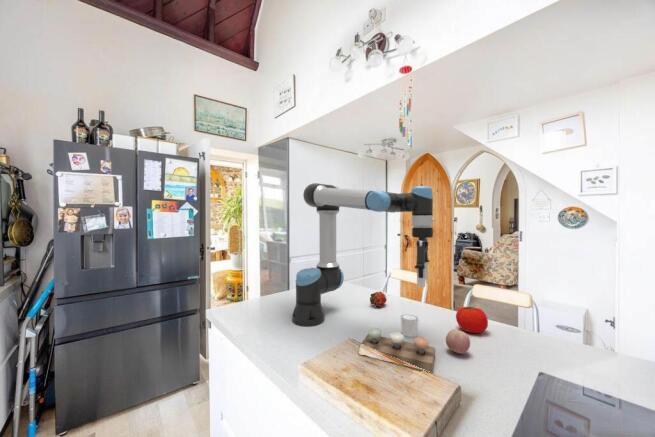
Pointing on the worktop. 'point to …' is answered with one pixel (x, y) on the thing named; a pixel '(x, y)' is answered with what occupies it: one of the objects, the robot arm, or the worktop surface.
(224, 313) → the worktop surface
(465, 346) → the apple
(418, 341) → the button terracotta
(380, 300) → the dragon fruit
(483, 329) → the tomato
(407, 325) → the white cylinder
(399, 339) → the button ivory
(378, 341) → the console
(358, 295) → the worktop surface
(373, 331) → the button sage
